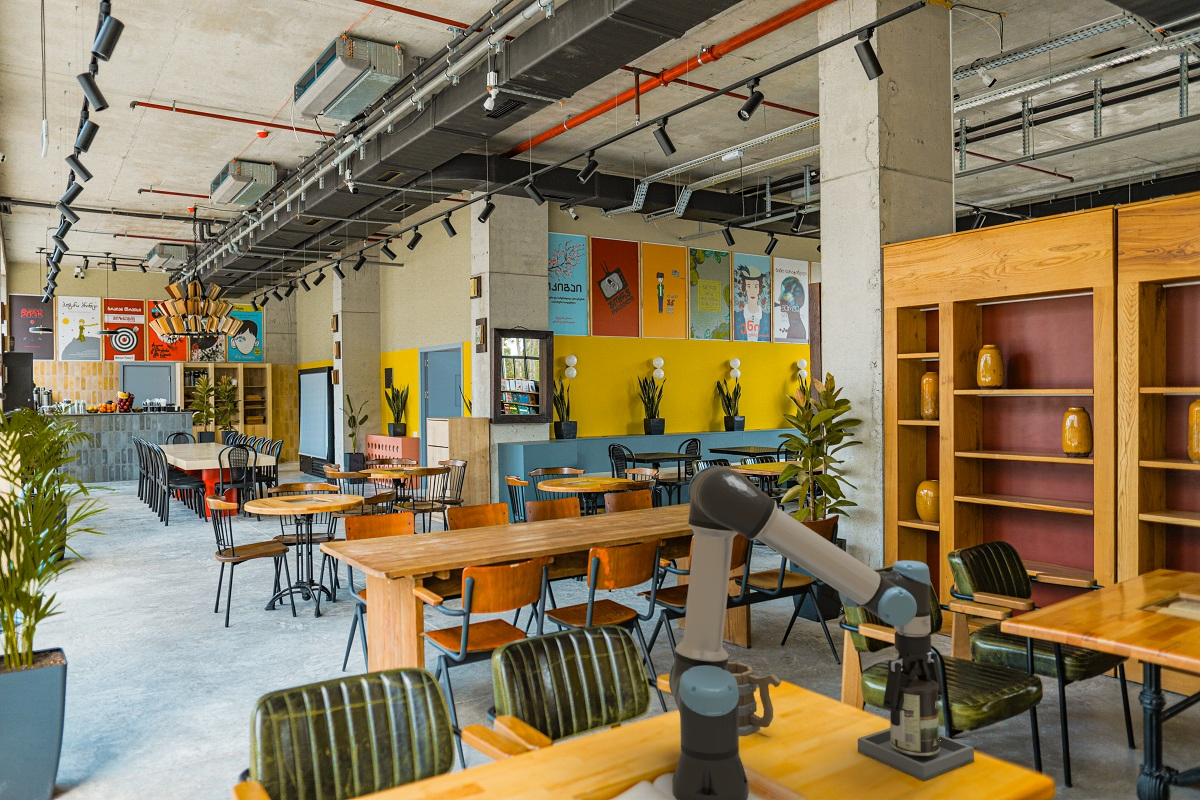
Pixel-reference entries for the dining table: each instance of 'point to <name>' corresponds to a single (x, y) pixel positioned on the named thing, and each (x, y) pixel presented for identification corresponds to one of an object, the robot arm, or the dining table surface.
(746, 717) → the tankard
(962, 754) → the tray
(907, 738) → the coffee can
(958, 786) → the dining table surface
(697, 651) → the robot arm
